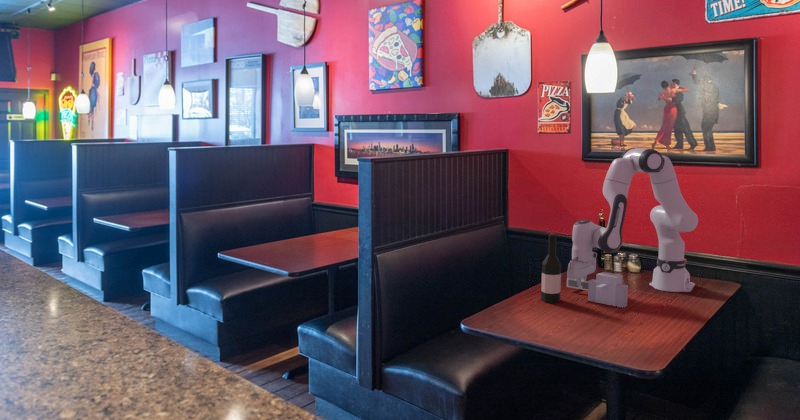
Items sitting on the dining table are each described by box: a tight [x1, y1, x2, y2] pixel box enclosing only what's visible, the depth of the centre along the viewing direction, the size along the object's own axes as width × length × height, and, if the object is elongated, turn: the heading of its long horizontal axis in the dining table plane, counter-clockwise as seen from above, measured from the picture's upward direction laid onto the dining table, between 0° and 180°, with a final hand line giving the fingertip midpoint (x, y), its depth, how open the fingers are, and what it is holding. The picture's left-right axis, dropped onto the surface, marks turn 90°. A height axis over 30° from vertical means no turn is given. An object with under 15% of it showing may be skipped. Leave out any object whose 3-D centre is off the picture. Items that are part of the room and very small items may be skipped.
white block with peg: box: [587, 271, 629, 309], centre depth 261 cm, size 13×16×12 cm
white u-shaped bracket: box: [566, 277, 589, 292], centre depth 282 cm, size 10×14×4 cm
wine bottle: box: [540, 232, 562, 304], centre depth 266 cm, size 8×8×30 cm
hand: (581, 285), depth 278 cm, fingers closed on white u-shaped bracket, 2 cm apart
